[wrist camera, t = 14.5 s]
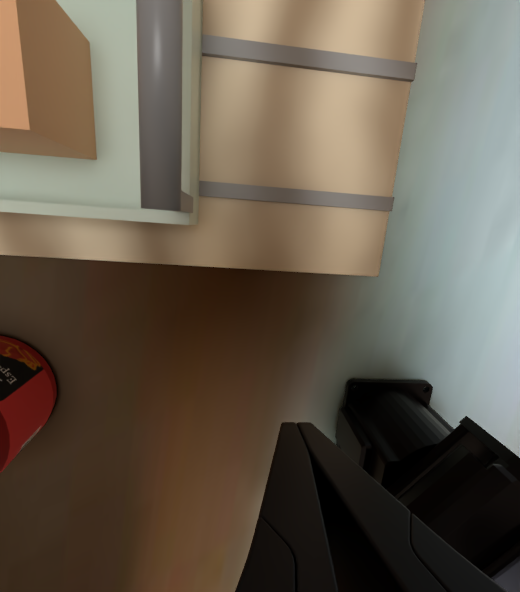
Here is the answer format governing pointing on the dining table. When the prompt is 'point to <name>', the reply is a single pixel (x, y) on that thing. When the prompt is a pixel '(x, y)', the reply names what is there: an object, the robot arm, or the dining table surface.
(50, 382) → the canned food
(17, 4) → the block
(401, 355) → the dining table surface
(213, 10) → the track
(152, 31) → the tray with handle
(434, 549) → the robot arm
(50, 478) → the dining table surface
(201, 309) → the dining table surface
